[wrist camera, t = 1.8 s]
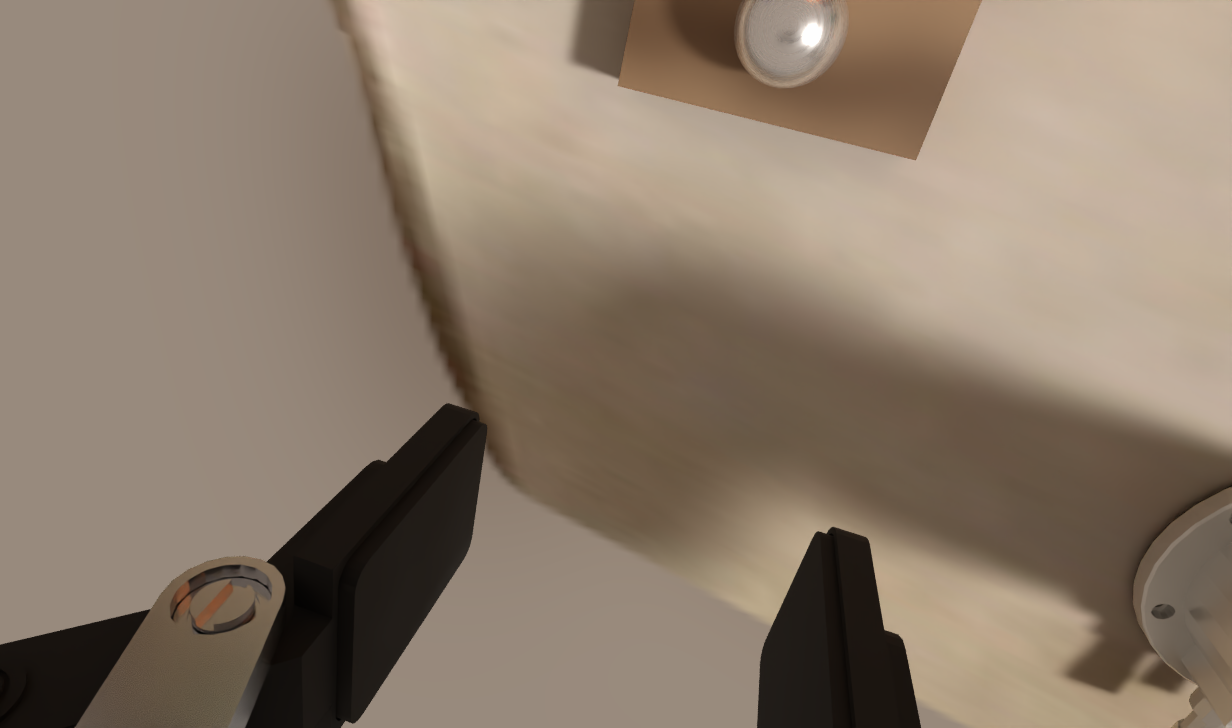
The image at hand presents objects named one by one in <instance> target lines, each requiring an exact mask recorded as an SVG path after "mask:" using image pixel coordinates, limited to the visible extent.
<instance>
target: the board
mask: <svg viewBox="0 0 1232 728" xmlns="http://www.w3.org/2000/svg"><path fill="white" fill-rule="evenodd" d="M981 1H982V0H846V2H847V6H848V13H849V25H848V31H847V36H846V39H845V42H844V45H843V47H842V50H841V51H840V53H839V55H838V57H837V58H836V60H835V61H834V63H833V64H832V65H831V66H830V67H829V68H828V69H827V70H826V71H825V72H824V73H823V74H822V75H821V76H819V77H818V78H816V79H815V80H813V81H811V82H809V83H807V84H805V85H802V86H798V87H794V88H775V87H771V86H768V85H765V84H763V83H761V82H759V81H758V80H756V79H755V78H754V77H752V76H751V75H750V74H749V73H748V72H747V70H746V69H745V68H744V66H743V65H742V63H741V61H740V59H739V57H738V54H737V51H736V47H735V41H734V25H735V19H736V15H737V12H738V9H739V6H740V4H741V2H742V0H634V6H633V11H632V16H631V21H630V26H629V31H628V36H627V41H626V47H625V52H624V57H623V62H622V67H621V72H620V77H619V82H618V86H620V87H624V88H628V89H632V90H636V91H640V92H644V93H648V94H652V95H656V96H660V97H664V98H668V99H672V100H676V101H680V102H684V103H688V104H692V105H696V106H700V107H704V108H708V109H712V110H716V111H720V112H724V113H728V114H732V115H736V116H740V117H744V118H748V119H752V120H756V121H760V122H764V123H768V124H772V125H776V126H780V127H784V128H788V129H792V130H796V131H800V132H804V133H808V134H812V135H816V136H820V137H824V138H828V139H832V140H836V141H840V142H844V143H848V144H852V145H856V146H860V147H864V148H868V149H872V150H876V151H880V152H884V153H888V154H892V155H896V156H900V157H904V158H908V159H912V160H916V159H917V156H918V154H919V152H920V149H921V147H922V144H923V142H924V139H925V137H926V135H927V132H928V130H929V127H930V125H931V122H932V120H933V118H934V115H935V113H936V110H937V108H938V105H939V103H940V101H941V98H942V96H943V93H944V91H945V88H946V86H947V84H948V81H949V79H950V76H951V74H952V71H953V69H954V67H955V64H956V62H957V59H958V57H959V54H960V52H961V50H962V47H963V45H964V42H965V40H966V37H967V35H968V33H969V30H970V28H971V25H972V23H973V20H974V18H975V16H976V13H977V11H978V8H979V6H980V4H981Z"/></svg>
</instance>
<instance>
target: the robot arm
mask: <svg viewBox="0 0 1232 728" xmlns="http://www.w3.org/2000/svg"><path fill="white" fill-rule="evenodd" d="M486 435H487V425H486V424H484V423H481V422H479V414H478V413H477V412H474V411H471V410H468V409H465V408H462V407H459V406H455V405H452V404H449V403H448V404H445V405H444V406H442V407H441V409H440V410H439V411H437V412H436V414H435V415H433V416H432V418H430V419H429V421H427V422H426V423H425V424H424V425H423V426H422V427H421V428H420V429H419V430H418V431H417V432H416V433H415V434H414V435H413V436H412V437H411V438H410V439H409V441H407V442H406V443H405V444H404V445H403V446H402V447H401V448H400V449H399V450H398V451H397V453H395V454H394V455H393V456H392V457H391V458H390V459H389V460H388V461H387V462H383V461H381V460H376V461H373V462H371V463H370V464H369V465H368V466H366V467H365V468H364V469H363V470H362V471H361V472H360V473H359V474H358V475H357V476H356V477H355V478H354V479H353V480H352V481H351V482H349V483H348V484H347V485H346V486H345V487H344V488H343V489H342V490H341V491H340V492H339V493H338V494H337V495H336V496H335V497H334V498H333V499H332V500H331V501H330V502H329V503H328V504H327V505H325V507H323V508H322V510H320V511H319V512H318V513H317V514H316V515H315V516H314V517H313V518H312V519H311V520H310V521H309V522H308V523H307V524H306V525H305V526H304V527H303V528H301V530H299V531H298V532H297V533H296V534H295V535H294V536H293V537H292V538H291V539H290V540H289V541H288V542H287V543H286V544H285V545H284V546H283V547H282V548H281V549H280V550H279V551H278V552H276V553H275V554H274V555H273V556H272V557H271V558H270V559H269V560H268V561H267V562H265V561H263V560H261V559H257V558H251V557H246V556H239V557H238V556H237V557H224V558H219V559H215V560H211V561H207V562H204V563H202V564H200V565H197V566H195V567H193V568H190V569H188V570H187V571H185V572H184V573H182V574H181V575H180V576H178V577H177V578H175V579H174V580H173V581H172V582H171V583H170V584H169V585H168V586H167V587H166V589H165V590H164V591H163V592H162V593H161V595H160V596H159V597H158V599H157V601H156V602H155V604H154V605H153V607H152V608H151V609H149V610H145V611H141V612H137V613H133V614H128V615H124V616H120V617H116V618H111V619H107V620H103V621H99V622H94V623H90V624H86V625H82V626H77V627H73V628H69V629H65V630H60V631H57V632H52V633H48V634H44V635H39V636H35V637H31V638H27V639H22V640H18V641H14V642H10V643H5V644H1V645H0V728H341V726H342V725H343V723H344V722H345V721H348V722H351V723H355V722H356V721H357V720H358V719H359V718H360V717H361V715H362V714H363V713H364V711H365V710H366V708H367V707H368V705H369V704H370V702H371V701H372V699H373V697H374V696H375V694H376V693H377V691H378V690H379V688H380V686H381V685H382V684H383V682H384V681H385V679H386V678H387V676H388V674H389V673H390V671H391V670H392V668H393V667H394V665H395V664H396V662H397V661H398V659H399V657H400V656H401V654H402V653H403V652H404V650H405V648H406V647H407V645H408V644H409V642H410V641H411V639H412V638H413V636H414V635H415V633H416V632H417V630H418V628H419V627H420V625H421V624H422V622H423V621H424V619H425V618H426V616H427V615H428V613H429V612H430V610H431V609H432V607H433V606H434V604H435V603H436V601H437V599H438V598H439V596H440V595H441V593H442V592H443V590H444V589H445V587H446V586H447V584H448V583H449V581H450V579H451V578H452V576H453V575H454V573H455V572H456V570H457V569H458V567H459V566H460V564H461V563H462V561H463V560H464V558H465V556H466V554H467V552H468V549H469V547H470V543H471V539H472V534H473V526H474V519H475V512H476V505H477V498H478V491H479V484H480V477H481V470H482V463H483V456H484V449H485V442H486ZM1133 606H1134V609H1135V613H1136V617H1137V621H1138V623H1139V625H1140V627H1141V628H1142V630H1143V632H1144V634H1145V635H1146V637H1147V639H1148V641H1149V642H1150V644H1151V646H1152V647H1153V648H1154V650H1155V651H1156V652H1157V653H1158V655H1159V656H1160V657H1161V659H1162V660H1163V661H1164V662H1165V663H1166V664H1167V665H1168V666H1170V667H1171V668H1172V669H1173V670H1174V671H1176V672H1177V673H1178V674H1179V675H1181V676H1182V677H1183V678H1185V679H1187V680H1189V681H1190V682H1192V683H1194V684H1196V685H1198V688H1197V689H1196V690H1195V691H1194V692H1193V693H1192V694H1191V696H1190V698H1189V702H1190V704H1191V707H1192V709H1193V711H1192V712H1191V713H1190V714H1189V715H1188V716H1187V717H1186V718H1185V719H1181V720H1179V721H1177V722H1176V723H1175V724H1174V725H1173V726H1172V727H1171V728H1232V487H1230V488H1227V489H1225V490H1223V491H1221V492H1219V493H1217V494H1215V495H1213V496H1211V497H1210V498H1208V499H1206V500H1204V501H1202V502H1200V503H1198V504H1196V505H1195V506H1193V507H1192V508H1191V509H1189V510H1188V511H1187V512H1185V513H1184V514H1183V515H1181V516H1180V517H1178V518H1177V519H1176V520H1174V521H1173V522H1172V523H1171V524H1170V525H1169V526H1168V527H1167V528H1166V529H1165V530H1164V531H1163V532H1162V533H1161V534H1160V535H1159V536H1158V537H1157V538H1156V539H1155V540H1154V541H1153V543H1152V544H1151V546H1150V548H1149V549H1148V551H1147V552H1146V554H1145V556H1144V557H1143V559H1142V560H1141V562H1140V565H1139V568H1138V571H1137V574H1136V577H1135V580H1134V585H1133ZM757 728H921V725H920V720H919V715H918V710H917V705H916V700H915V695H914V689H913V684H912V679H911V674H910V669H909V664H908V659H907V654H906V649H905V646H904V643H903V640H902V639H901V637H900V636H899V635H898V634H895V633H892V632H889V631H886V630H884V626H883V620H882V614H881V609H880V603H879V597H878V591H877V585H876V579H875V573H874V567H873V561H872V555H871V549H870V543H869V540H868V539H867V538H866V537H864V536H860V535H857V534H854V533H851V532H848V531H845V530H842V529H839V528H835V527H831V528H830V529H829V530H828V532H827V534H825V533H822V532H819V531H818V532H816V533H815V535H814V537H813V539H812V541H811V543H810V545H809V547H808V549H807V552H806V554H805V556H804V558H803V560H802V562H801V564H800V567H799V569H798V571H797V573H796V575H795V577H794V580H793V582H792V584H791V586H790V588H789V590H788V593H787V595H786V597H785V599H784V601H783V603H782V606H781V608H780V610H779V612H778V614H777V616H776V619H775V621H774V623H773V625H772V627H771V629H770V632H769V634H768V636H767V639H766V640H765V643H764V646H763V650H762V654H761V661H760V680H759V701H758V721H757Z"/></svg>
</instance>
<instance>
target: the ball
mask: <svg viewBox="0 0 1232 728" xmlns="http://www.w3.org/2000/svg"><path fill="white" fill-rule="evenodd" d="M848 25H849V13H848V6H847V2H846V0H742V2H741V4H740V6H739V9H738V12H737V15H736V19H735V25H734V41H735V47H736V51H737V54H738V57H739V59H740V61H741V63H742V65H743V66H744V68H745V69H746V70H747V72H748V73H749V74H750V75H751V76H752V77H754V78H755V79H756V80H758V81H759V82H761V83H763V84H765V85H768V86H771V87H775V88H794V87H798V86H802V85H805V84H807V83H809V82H811V81H813V80H815V79H816V78H818V77H819V76H821V75H822V74H823V73H824V72H825V71H826V70H827V69H828V68H829V67H830V66H831V65H832V64H833V63H834V61H835V60H836V58H837V57H838V55H839V53H840V51H841V50H842V47H843V45H844V42H845V39H846V36H847V31H848Z"/></svg>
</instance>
